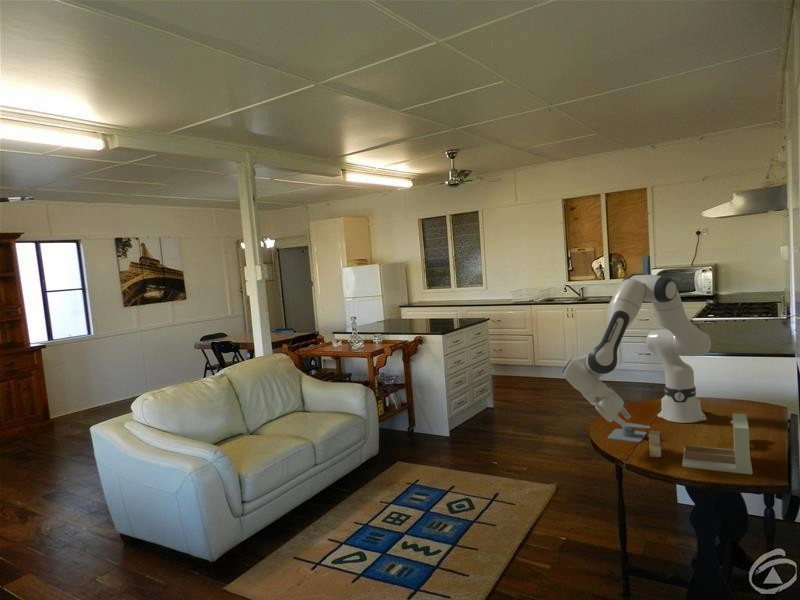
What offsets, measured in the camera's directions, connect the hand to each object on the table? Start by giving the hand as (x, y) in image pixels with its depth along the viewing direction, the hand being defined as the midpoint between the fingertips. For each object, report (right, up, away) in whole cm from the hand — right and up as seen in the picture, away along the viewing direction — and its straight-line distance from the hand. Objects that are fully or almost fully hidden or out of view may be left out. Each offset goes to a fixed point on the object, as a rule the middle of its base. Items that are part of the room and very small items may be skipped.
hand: (627, 421), depth 194 cm
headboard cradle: (+25, -11, -14) cm, 30 cm away
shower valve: (+9, -11, +17) cm, 22 cm away
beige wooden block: (+9, -11, -4) cm, 15 cm away
